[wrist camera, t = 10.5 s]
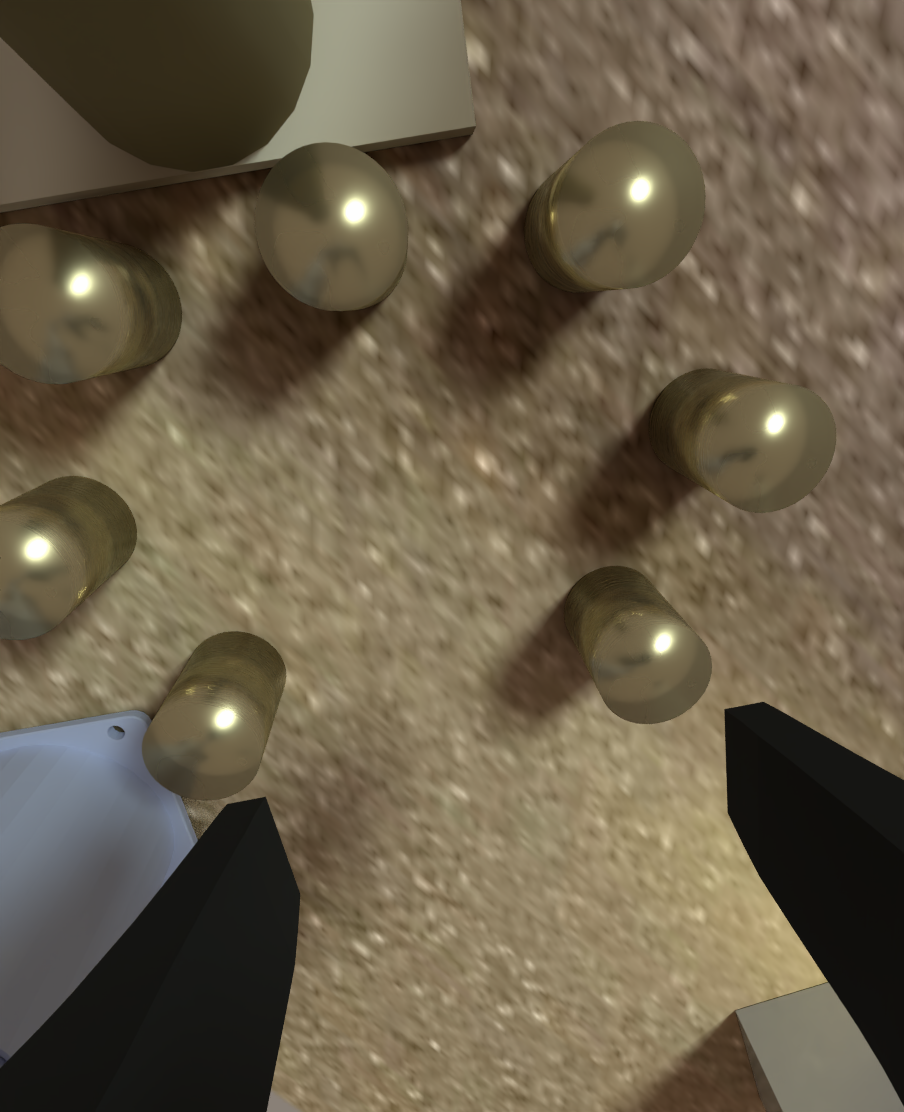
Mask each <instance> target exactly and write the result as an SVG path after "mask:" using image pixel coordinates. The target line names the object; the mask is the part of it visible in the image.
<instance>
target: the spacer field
mask: <svg viewBox="0 0 904 1112" xmlns="http://www.w3.org/2000/svg"><path fill="white" fill-rule="evenodd" d="M704 210H705V185H704V180H703V175H702V171H701V168H700V165H699V163H698V161H697V159H696V157H695V155H694V153H693V152H692V150H691V149H690V147H689V146H688V145H687V144H686V143H685V141H684V140H683V139H682V138H681V137H679V136H678V135H677V134H676V133H674V132H673V131H671V130H669V129H668V128H666V127H664V126H661V125H659V124H655V123H651V122H644V121H633V122H626V123H621V124H618V125H615V126H613V127H610V128H608V129H606V130H604V131H603V132H601V133H599V134H598V135H597V136H595V137H594V138H593V139H591V140H590V141H589V142H588V143H587V144H586V145H584V146H583V147H582V148H581V149H580V150H579V151H578V152H577V153H576V154H574V155H573V156H572V157H571V158H570V159H569V160H568V161H567V162H566V163H564V164H563V165H562V166H561V167H560V168H559V169H558V170H557V171H555V172H554V173H553V174H552V175H551V176H550V177H549V178H548V179H547V180H546V181H545V182H544V183H543V184H542V185H541V186H540V188H539V189H538V190H537V192H536V193H535V195H534V197H533V198H532V201H531V203H530V205H529V208H528V211H527V214H526V219H525V228H524V237H525V245H526V250H527V253H528V256H529V258H530V261H531V263H532V265H533V266H534V268H535V270H536V271H537V272H538V274H539V275H540V276H541V277H542V278H543V279H544V280H545V281H546V282H548V283H549V284H551V285H552V286H554V287H556V288H558V289H561V290H564V291H568V292H575V293H582V292H594V291H606V290H618V289H630V288H638V287H642V286H646V285H648V284H651V283H653V282H655V281H657V280H659V279H661V278H663V277H664V276H666V275H667V274H668V273H670V272H671V271H672V270H673V269H674V268H675V267H677V266H678V265H679V264H680V262H681V261H682V260H683V259H684V258H685V257H686V255H687V254H688V252H689V251H690V249H691V248H692V246H693V244H694V242H695V240H696V238H697V235H698V233H699V230H700V228H701V224H702V220H703V216H704ZM255 233H256V238H257V243H258V247H259V250H260V253H261V256H262V258H263V260H264V263H265V265H266V266H267V268H268V270H269V271H270V273H271V274H272V276H273V277H274V278H275V280H276V281H277V282H278V283H279V284H280V285H281V286H282V288H283V289H284V290H286V291H287V292H288V293H289V294H290V295H292V296H293V297H295V298H296V299H298V300H299V301H301V302H303V303H305V304H307V305H309V306H312V307H315V308H318V309H323V310H328V311H348V310H360V309H364V308H368V307H371V306H373V305H375V304H377V303H379V302H381V301H382V300H383V299H385V298H386V297H387V296H388V295H389V294H390V293H391V292H392V291H393V290H394V288H395V287H396V286H397V284H398V282H399V281H400V279H401V277H402V274H403V272H404V268H405V265H406V259H407V248H408V222H407V215H406V211H405V206H404V204H403V201H402V198H401V195H400V193H399V191H398V189H397V187H396V185H395V184H394V182H393V181H392V179H391V177H390V176H389V175H388V174H387V172H386V171H385V170H384V169H383V168H382V167H381V166H380V165H379V164H378V163H377V162H376V161H375V160H373V159H372V158H371V157H369V156H368V155H367V154H365V153H363V152H361V151H359V150H357V149H355V148H353V147H350V146H347V145H344V144H339V143H331V142H321V143H313V144H309V145H305V146H302V147H300V148H298V149H295V150H294V151H292V152H290V153H289V154H287V155H286V156H284V157H283V158H282V159H281V160H280V161H278V163H277V164H276V165H275V166H274V167H273V168H272V169H271V171H270V172H269V174H268V175H267V177H266V178H265V180H264V182H263V184H262V187H261V189H260V192H259V195H258V198H257V203H256V208H255ZM181 323H182V308H181V302H180V298H179V295H178V292H177V289H176V287H175V285H174V283H173V281H172V279H171V278H170V276H169V275H168V273H167V272H166V271H165V270H164V268H163V267H162V266H161V265H160V264H159V263H158V262H157V261H156V260H154V259H153V258H152V257H151V256H149V255H148V254H146V253H145V252H143V251H141V250H139V249H137V248H135V247H132V246H129V245H126V244H122V243H117V242H113V241H108V240H104V239H99V238H95V237H91V236H86V235H82V234H77V233H73V232H68V231H64V230H59V229H55V228H51V227H46V226H41V225H36V224H26V223H20V224H10V225H6V226H2V227H0V364H1V365H3V366H4V367H6V368H7V369H9V370H10V371H12V372H14V373H16V374H18V375H20V376H22V377H24V378H27V379H29V380H33V381H36V382H41V383H47V384H66V383H72V382H76V381H81V380H85V379H89V378H94V377H98V376H103V375H107V374H111V373H116V372H120V371H125V370H129V369H134V368H138V367H142V366H146V365H149V364H152V363H154V362H156V361H158V360H160V359H161V358H162V357H164V356H165V355H166V354H167V353H168V352H169V351H170V350H171V348H172V347H173V345H174V344H175V342H176V340H177V338H178V336H179V332H180V329H181ZM649 436H650V441H651V445H652V447H653V449H654V451H655V453H656V455H657V456H658V457H659V459H660V460H661V461H662V462H663V463H664V464H666V465H667V466H669V467H670V468H672V469H673V470H675V471H677V472H678V473H680V474H682V475H683V476H685V477H687V478H688V479H690V480H692V481H693V482H695V483H697V484H698V485H700V486H702V487H703V488H705V489H707V490H708V491H710V492H712V493H713V494H715V495H717V496H718V497H720V498H721V499H723V500H725V501H726V502H728V503H730V504H731V505H733V506H735V507H737V508H739V509H742V510H745V511H749V512H755V513H765V512H773V511H777V510H781V509H783V508H786V507H788V506H791V505H793V504H795V503H796V502H798V501H799V500H801V499H802V498H804V497H805V496H806V495H807V494H809V493H810V492H811V491H812V490H813V489H814V488H815V487H816V486H817V484H818V483H819V482H820V481H821V479H822V478H823V476H824V475H825V473H826V472H827V470H828V468H829V466H830V463H831V461H832V458H833V455H834V451H835V445H836V428H835V422H834V419H833V416H832V414H831V411H830V409H829V408H828V406H827V405H826V403H825V402H824V401H823V400H822V399H821V398H820V397H819V396H818V395H816V394H815V393H814V392H812V391H810V390H808V389H806V388H804V387H801V386H797V385H792V384H787V383H782V382H777V381H772V380H767V379H762V378H757V377H752V376H747V375H742V374H737V373H732V372H727V371H722V370H716V369H698V370H694V371H691V372H688V373H685V374H683V375H682V376H680V377H678V378H677V379H675V380H674V381H672V382H671V383H670V384H669V385H668V386H667V387H666V388H665V389H664V390H663V391H662V393H661V394H660V396H659V397H658V399H657V400H656V402H655V404H654V407H653V409H652V412H651V416H650V421H649ZM136 540H137V529H136V523H135V520H134V517H133V515H132V512H131V510H130V509H129V507H128V505H127V504H126V503H125V501H124V500H123V499H122V498H121V497H120V496H119V495H118V494H117V493H116V492H115V491H113V490H112V489H111V488H109V487H108V486H106V485H104V484H102V483H100V482H98V481H95V480H93V479H89V478H86V477H79V476H67V477H60V478H56V479H54V480H51V481H49V482H47V483H45V484H43V485H41V486H39V487H37V488H35V489H33V490H31V491H28V492H26V493H24V494H22V495H20V496H18V497H16V498H14V499H12V500H10V501H8V502H6V503H4V504H2V505H0V639H7V640H24V639H30V638H34V637H38V636H40V635H43V634H45V633H47V632H49V631H50V630H52V629H53V628H54V627H56V626H57V625H58V624H59V623H60V622H61V621H62V620H63V619H64V618H66V617H67V616H68V615H69V614H70V613H71V612H72V611H73V610H74V609H75V608H76V607H78V606H79V605H80V604H81V603H82V602H83V601H84V600H85V599H86V598H87V597H88V596H90V595H91V594H92V593H93V592H94V591H95V590H96V589H97V588H98V587H99V586H100V585H102V584H103V583H104V582H105V581H106V580H107V579H108V578H109V577H110V576H111V575H112V574H114V573H115V572H116V571H117V570H118V569H119V568H120V567H121V566H122V565H123V564H124V563H125V562H126V561H127V560H128V559H129V558H130V556H131V555H132V553H133V551H134V548H135V545H136ZM564 619H565V624H566V627H567V629H568V631H569V633H570V635H571V637H572V639H573V641H574V643H575V645H576V647H577V649H578V651H579V653H580V655H581V657H582V659H583V661H584V663H585V665H586V667H587V669H588V671H589V673H590V675H591V677H592V679H593V681H594V683H595V685H596V687H597V689H598V691H599V692H600V694H601V696H602V698H603V700H604V702H605V704H606V705H607V707H608V708H609V709H610V710H611V711H612V712H613V713H614V714H616V715H617V716H619V717H621V718H622V719H624V720H627V721H630V722H634V723H639V724H654V723H660V722H665V721H668V720H671V719H673V718H675V717H677V716H679V715H681V714H683V713H684V712H686V711H687V710H688V709H690V708H691V707H692V706H693V705H694V704H695V703H696V702H697V701H698V700H699V699H700V698H701V696H702V695H703V693H704V692H705V690H706V688H707V686H708V683H709V681H710V677H711V672H712V662H711V656H710V653H709V650H708V648H707V646H706V645H705V643H704V642H703V641H702V639H701V638H700V637H699V636H698V635H697V634H696V633H695V632H694V631H693V629H692V628H691V627H690V626H689V625H688V624H687V623H686V622H685V620H684V619H683V618H682V617H681V616H680V615H679V614H678V613H677V612H676V610H675V609H674V608H673V607H672V606H671V605H670V604H669V603H668V601H667V600H666V599H665V598H664V597H663V596H662V595H661V594H660V593H659V591H658V590H657V589H656V588H655V587H654V586H653V585H652V584H651V582H650V581H649V580H648V579H647V578H646V577H645V576H644V575H643V574H641V573H640V572H638V571H636V570H634V569H631V568H628V567H623V566H609V567H604V568H600V569H597V570H595V571H593V572H591V573H589V574H587V575H586V576H584V577H583V578H582V579H581V580H579V581H578V583H577V584H576V585H575V586H574V587H573V589H572V590H571V592H570V593H569V595H568V598H567V600H566V603H565V608H564ZM285 683H286V669H285V665H284V662H283V660H282V658H281V656H280V655H279V653H278V652H277V650H276V649H275V648H274V647H273V646H272V645H270V644H269V643H268V642H267V641H265V640H263V639H262V638H260V637H258V636H255V635H252V634H249V633H245V632H224V633H220V634H217V635H214V636H212V637H210V638H208V639H206V640H205V641H204V642H202V643H201V644H200V645H199V646H198V647H197V649H196V650H195V651H194V653H193V655H192V656H191V658H190V660H189V661H188V663H187V665H186V666H185V668H184V669H183V671H182V673H181V674H180V676H179V678H178V679H177V681H176V683H175V684H174V686H173V688H172V689H171V691H170V692H169V694H168V696H167V697H166V699H165V701H164V702H163V704H162V706H161V707H160V709H159V711H158V712H157V714H156V715H155V717H154V719H153V720H152V722H151V724H150V725H149V727H148V729H147V731H146V732H145V735H144V737H143V742H142V756H143V760H144V763H145V765H146V768H147V770H148V771H149V773H150V774H151V776H152V777H153V778H154V779H155V780H156V781H157V782H158V783H159V784H160V785H161V786H163V787H164V788H166V789H167V790H169V791H171V792H173V793H175V794H177V795H180V796H182V797H186V798H189V799H195V800H217V799H222V798H226V797H229V796H231V795H234V794H236V793H238V792H239V791H241V790H242V789H244V788H245V787H246V786H247V785H248V784H249V783H250V782H251V781H252V780H253V778H254V777H255V775H256V774H257V771H258V769H259V766H260V763H261V760H262V756H263V753H264V750H265V747H266V744H267V741H268V737H269V734H270V731H271V728H272V725H273V721H274V718H275V715H276V712H277V709H278V706H279V702H280V699H281V696H282V693H283V690H284V687H285Z"/></svg>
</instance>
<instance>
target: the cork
mask: <svg viewBox="0 0 904 1112" xmlns="http://www.w3.org/2000/svg"><path fill="white" fill-rule="evenodd" d="M313 19H314V13H313V8H312V3H311V0H0V38H1V39H2V40H3V41H4V42H5V43H7V44H8V45H9V46H10V47H11V48H12V49H13V50H14V51H15V52H16V53H17V54H18V55H19V56H20V57H21V58H22V59H23V60H24V61H25V62H26V63H27V64H28V65H29V66H30V67H31V68H32V69H33V70H34V71H35V72H36V73H37V74H38V75H39V76H40V77H41V78H42V79H43V80H44V81H45V82H46V83H47V84H48V85H49V86H51V87H52V88H53V89H54V90H55V91H56V92H57V93H58V94H59V95H60V96H61V97H62V98H63V99H64V100H65V101H66V102H67V103H68V104H69V105H70V106H71V107H72V108H73V109H74V110H75V111H76V112H77V113H78V114H79V115H80V116H81V117H82V118H84V119H85V120H86V121H87V122H88V123H89V124H90V125H91V126H92V127H93V128H94V129H95V130H96V131H97V132H98V133H99V134H100V135H101V136H102V137H103V138H105V139H106V140H107V141H108V142H109V143H110V144H112V145H114V146H116V147H118V148H120V149H122V150H124V151H125V152H127V153H129V154H131V155H133V156H135V157H137V158H139V159H141V160H142V161H144V162H146V163H148V164H150V165H155V166H161V167H166V168H172V169H178V170H183V171H189V172H197V171H202V170H208V169H213V168H219V167H225V166H230V165H234V164H236V163H237V162H239V161H240V160H242V159H244V158H245V157H247V156H249V155H250V154H252V153H254V152H255V151H257V150H259V149H260V148H262V147H264V146H265V145H267V144H268V143H269V142H270V141H271V139H272V138H273V137H274V135H275V134H276V133H277V132H278V130H279V129H280V128H281V127H282V125H283V124H284V123H285V122H286V120H287V119H288V118H289V116H290V115H291V114H292V113H293V111H294V110H295V107H296V105H297V102H298V99H299V96H300V94H301V91H302V88H303V85H304V83H305V80H306V77H307V74H308V71H309V69H310V66H311V51H312V35H313Z"/></svg>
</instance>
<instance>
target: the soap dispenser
mask: <svg viewBox="0 0 904 1112" xmlns="http://www.w3.org/2000/svg"><path fill="white" fill-rule="evenodd" d="M736 1015H737V1018H738V1022H739V1025H740V1029H741V1032H742V1036H743V1039H744V1043H745V1047H746V1050H747V1054H748V1057H749V1061H750V1064H751V1068H752V1071H753V1075H754V1078H755V1082H756V1085H757V1089H758V1092H759V1096H760V1099H761V1101H762V1104H763V1106H764V1108H765V1110H766V1112H904V1106H903V1104H902V1102H901V1101H900V1099H899V1097H898V1095H897V1093H896V1091H895V1090H894V1088H893V1086H892V1084H891V1082H890V1080H889V1079H888V1077H887V1075H886V1073H885V1071H884V1069H883V1068H882V1066H881V1064H880V1063H879V1061H878V1059H877V1058H876V1056H875V1054H874V1053H873V1051H872V1049H871V1048H870V1046H869V1045H868V1043H867V1041H866V1040H865V1038H864V1036H863V1035H862V1033H861V1031H860V1030H859V1028H858V1027H857V1025H856V1024H855V1022H854V1020H853V1019H852V1017H851V1016H850V1014H849V1013H848V1011H847V1010H846V1008H845V1007H844V1005H843V1004H842V1002H841V1001H840V999H839V998H838V996H837V995H836V993H835V992H834V990H833V988H832V987H831V985H830V984H829V982H828V983H825V984H822V985H818V986H815V987H812V988H809V989H805V990H802V991H799V992H795V993H792V994H789V995H785V996H782V997H779V998H776V999H772V1000H769V1001H766V1002H762V1003H759V1004H756V1005H753V1006H749V1007H746V1008H743V1009H739V1010H736Z"/></svg>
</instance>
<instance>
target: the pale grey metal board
mask: <svg viewBox="0 0 904 1112" xmlns="http://www.w3.org/2000/svg"><path fill="white" fill-rule="evenodd" d="M311 3H312V8H313V13H314V19H313V35H312V51H311V66H310V69H309V71H308V74H307V77H306V80H305V83H304V85H303V88H302V91H301V94H300V96H299V99H298V102H297V105H296V107H295V110H294V111H293V113H292V114H291V115H290V116H289V118H288V119H287V120H286V122H285V123H284V124H283V125H282V127H281V128H280V129H279V130H278V132H277V133H276V134H275V135H274V137H273V138H272V139H271V141H270V142H269V143H268V144H267V145H265V146H264V147H262V148H260V149H259V150H257V151H255V152H254V153H252V154H250V155H249V156H247V157H245V158H244V159H242V160H240V161H239V162H237V163H236V164H234V165H230V166H225V167H219V168H213V169H208V170H202V171H197V172H189V171H183V170H178V169H172V168H166V167H161V166H155V165H150V164H148V163H146V162H144V161H142V160H141V159H139V158H137V157H135V156H133V155H131V154H129V153H127V152H125V151H124V150H122V149H120V148H118V147H116V146H114V145H112V144H110V143H109V142H108V141H107V140H106V139H105V138H103V137H102V136H101V135H100V134H99V133H98V132H97V131H96V130H95V129H94V128H93V127H92V126H91V125H90V124H89V123H88V122H87V121H86V120H85V119H84V118H82V117H81V116H80V115H79V114H78V113H77V112H76V111H75V110H74V109H73V108H72V107H71V106H70V105H69V104H68V103H67V102H66V101H65V100H64V99H63V98H62V97H61V96H60V95H59V94H58V93H57V92H56V91H55V90H54V89H53V88H52V87H51V86H49V85H48V84H47V83H46V82H45V81H44V80H43V79H42V78H41V77H40V76H39V75H38V74H37V73H36V72H35V71H34V70H33V69H32V68H31V67H30V66H29V65H28V64H27V63H26V62H25V61H24V60H23V59H22V58H21V57H20V56H19V55H18V54H17V53H16V52H15V51H14V50H13V49H12V48H11V47H10V46H9V45H8V44H7V43H5V42H4V41H3V40H2V39H1V38H0V213H1V212H7V211H13V210H19V209H25V208H31V207H37V206H43V205H49V204H55V203H61V202H68V201H74V200H80V199H86V198H92V197H98V196H104V195H110V194H116V193H122V192H128V191H134V190H140V189H146V188H152V187H158V186H164V185H170V184H176V183H182V182H188V181H194V180H200V179H206V178H212V177H218V176H224V175H230V174H236V173H242V172H248V171H255V170H261V169H267V168H273V167H274V166H275V165H276V164H277V163H278V161H280V160H281V159H282V158H283V157H284V156H286V155H287V154H289V153H290V152H292V151H294V150H295V149H298V148H300V147H302V146H305V145H309V144H313V143H321V142H331V143H339V144H344V145H347V146H350V147H353V148H355V149H357V150H359V151H361V152H369V151H375V150H381V149H387V148H393V147H399V146H405V145H411V144H417V143H423V142H429V141H435V140H441V139H448V138H454V137H460V136H466V135H472V134H473V132H474V129H475V127H476V123H475V115H474V107H473V98H472V90H471V82H470V74H469V66H468V57H467V49H466V41H465V33H464V25H463V17H462V8H461V0H311Z"/></svg>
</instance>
